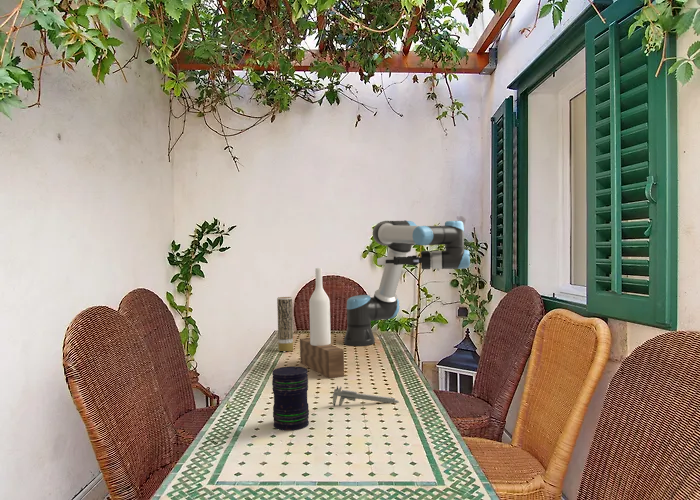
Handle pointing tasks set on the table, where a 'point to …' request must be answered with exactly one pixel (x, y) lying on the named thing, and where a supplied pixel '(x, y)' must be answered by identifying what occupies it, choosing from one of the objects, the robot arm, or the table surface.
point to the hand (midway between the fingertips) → (379, 260)
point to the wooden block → (322, 358)
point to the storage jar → (290, 398)
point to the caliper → (358, 397)
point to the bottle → (319, 314)
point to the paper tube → (285, 323)
